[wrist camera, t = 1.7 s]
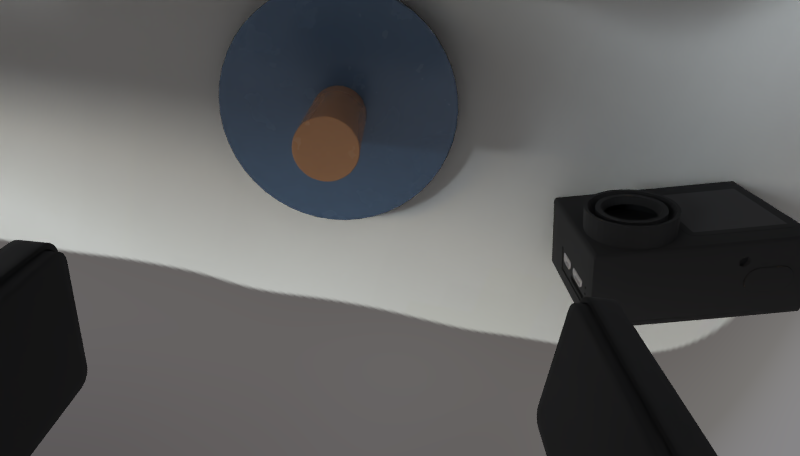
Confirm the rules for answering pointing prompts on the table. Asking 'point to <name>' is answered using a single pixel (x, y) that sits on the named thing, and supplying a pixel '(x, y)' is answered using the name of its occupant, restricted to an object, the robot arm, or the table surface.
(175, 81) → the table surface
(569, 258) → the digital camera
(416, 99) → the lid
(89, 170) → the table surface
